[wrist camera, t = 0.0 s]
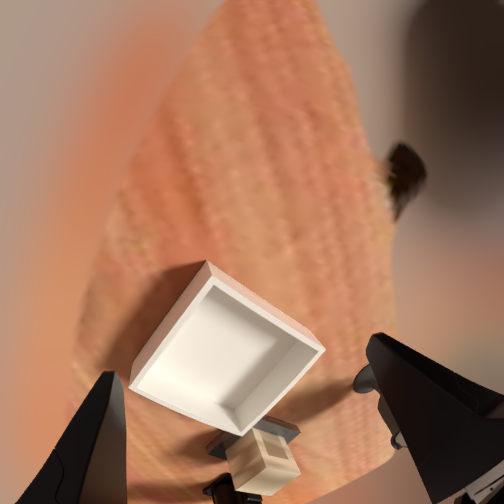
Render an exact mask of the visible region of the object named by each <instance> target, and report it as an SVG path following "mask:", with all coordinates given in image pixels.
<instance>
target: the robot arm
mask: <svg viewBox="0 0 504 504" xmlns="http://www.w3.org/2000/svg"><path fill="white" fill-rule="evenodd" d="M366 356H367V358H368V361H369V364H370V366H371V369H372V371H373V374H374V377H375V379H376V382H377V384H378V387H379V389H380V391H381V393H382V395H383V397H384V399H385V401H386V403H387V405H388V407H389V409H390V411H391V413H392V416H393V418H394V420H395V422H396V424H397V426H398V428H399V430H400V432H401V434H402V436H403V439H404V441H405V443H406V445H407V447H408V449H409V452H410V454H411V456H412V458H413V460H414V463H415V465H416V467H417V469H418V472H419V474H420V476H421V479H422V481H423V483H424V486H425V488H426V490H427V493H428V495H429V497H430V500H431V502H432V504H437V503H439V502H441V501H443V500H445V499H446V498H448V497H450V496H451V495H453V494H455V493H457V492H458V491H460V490H462V489H463V488H464V489H465V490H466V491H465V492H463V493H462V494H461V495H460V496H458V497H457V498H456V499H455V501H454V504H504V395H502V394H500V393H497V392H495V391H493V390H490V389H488V388H486V387H483V386H481V385H479V384H476V383H474V382H472V381H470V380H468V379H466V378H464V377H462V376H461V375H459V374H457V373H454V372H453V371H451V370H450V369H448V368H446V367H444V366H442V365H441V364H439V363H437V362H435V361H433V360H431V359H429V358H428V357H426V356H424V355H422V354H420V353H419V352H417V351H415V350H413V349H412V348H410V347H408V346H406V345H404V344H403V343H401V342H399V341H397V340H395V339H394V338H392V337H390V336H388V335H386V334H385V333H382V332H379V333H376V334H373V335H372V336H371V338H370V340H369V343H368V345H367V348H366ZM203 494H205V495H209V496H212V499H213V503H214V504H262V503H261V502H262V497H261V494H254V493H247V492H241V491H236V490H235V487H234V483H233V480H232V476H231V474H230V473H227V474H225V475H223V476H222V477H221V478H219V479H218V480H217V481H215V482H214V483H213V484H211V485H210V486H209V487H207V488H206V489H204V490H203ZM15 504H127V481H126V420H125V406H124V391H123V386H122V384H121V381H120V379H119V377H118V375H117V373H116V372H115V371H104V372H103V373H102V374H101V375H100V377H99V378H98V380H97V381H96V383H95V384H94V386H93V387H92V389H91V390H90V392H89V393H88V395H87V397H86V398H85V400H84V401H83V403H82V404H81V406H80V407H79V409H78V410H77V412H76V414H75V415H74V417H73V418H72V420H71V421H70V423H69V425H68V426H67V428H66V429H65V431H64V433H63V434H62V436H61V438H60V439H59V441H58V443H57V444H56V446H55V449H53V451H52V452H51V454H50V456H49V458H48V459H47V461H46V462H45V464H44V465H43V467H42V468H41V470H40V471H39V473H38V474H37V475H36V477H35V478H34V480H33V481H32V482H31V483H30V485H29V486H28V487H27V489H26V490H25V491H24V493H23V494H22V495H21V497H20V498H19V499H18V501H17V502H16V503H15Z"/></svg>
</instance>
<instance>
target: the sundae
mask: <svg viewBox="0 0 504 504" xmlns="http://www.w3.org/2000/svg"><path fill="white" fill-rule="evenodd" d="M354 389H355V391H356V392H358V393H368V392H370V391H372V390H374V389H375V390H376V391H377V392H378V393H379V394H380V398H379V402H378V410H379V412H380V414H381V416H382V418H383V420H384V421H385V423H386V425H387V426H388V428H389V429H390V431H391V433H392V435H393V436H392V437H391V445H392V446H393V447H394V448H395V449H397V450H399V449H401V448H402V447H406V448H408V447H407V445H406V443H405V441H404V439H403V436H402V434H401V432H400V430H399V428H398V426H397V424H396V422H395V420H394V418H393V416H392V413H391V411H390V409H389V407H388V405H387V403H386V401H385V399H384V397H383V395H382V393H381V391H380V389H379V387H378V384H377V382H376V379H375V377H374V374H373V371H372V369H371V366H370V364H369V365H368V366H366V367H365V368H364V369H363V370H362V371H361V372H360V373H359V374H358V376H357V378H356V380H355V383H354Z"/></svg>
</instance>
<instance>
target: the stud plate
mask: <svg viewBox="0 0 504 504" xmlns="http://www.w3.org/2000/svg"><path fill="white" fill-rule="evenodd" d="M252 428H255V429H258V430H261V431H264V432H268V433H271V434H274V435H277V436H281V437H284V439H285V441H286V443H287V444H288V443H289V442H291V441H292V440H293V439H294V438H295V437H296V436H297V435H298V434H299V433H301V432H300V430H299V429H298V427H297V426H295V425H292V424H289V423H286V422H284V421H281V420H278V419H275V418H272V417H270V416H267V415H264V416H263V417H262V418H261V419H260V420H259V421H258V422H257V423H256V424H255V425H254V426H253V427H252ZM241 437H242V436H239V435H236V434H233V433H230V432H227V431H223V432H222V433H221V434H220V435H219V436H218V437H216V438H215V439H214V440H213V441H212V442H211V443H210V444H209V445H208V446H207V447H206V449H207V454H208V455H212V456H215V457H218V458H222V459H225V460H227V456H226V452H225V451H226V450H227V449H228V448H229V447H231V446H232V445H233V444H234V443H235V442H236V441H237V440H238V439H239V438H241Z"/></svg>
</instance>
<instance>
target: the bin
mask: <svg viewBox="0 0 504 504" xmlns="http://www.w3.org/2000/svg"><path fill="white" fill-rule="evenodd" d="M325 350H326V349H325V348H324V347H323V345H322V344H321V343H320V342H319V341H318V340H317V339H316V337H315V336H314V335H313V334H312V333H311V332H310V331H309V329H307V328H306V327H304V326H303V325H301V324H300V323H298V322H297V321H295V320H294V319H292V318H291V317H289V316H288V315H286V314H285V313H283V312H282V311H280V310H279V309H277V308H276V307H274V306H273V305H271V304H270V303H268V302H267V301H265V300H264V299H263V298H261V297H260V296H258V295H257V294H255V293H254V292H252V291H251V290H249V289H248V288H246V287H245V286H243V285H242V284H241V283H239V282H238V281H236V280H235V279H233V278H232V277H230V276H229V275H228V274H226V273H225V272H223V271H222V270H220V269H219V268H218V267H216V266H215V265H213V264H212V263H210V262H209V261H208V260H206V262H205V263H204V264H203V266H202V267H201V268H200V270H199V271H198V272H197V274H196V275H195V276H194V278H193V279H192V281H191V282H190V283H189V285H188V286H187V287H186V289H185V290H184V291H183V293H182V294H181V295H180V297H179V298H178V300H177V301H176V302H175V304H174V305H173V306H172V308H171V309H170V311H169V312H168V313H167V315H166V316H165V317H164V319H163V320H162V322H161V323H160V324H159V326H158V327H157V329H156V330H155V331H154V333H153V334H152V336H151V337H150V338H149V340H148V341H147V343H146V344H145V345H144V347H143V348H142V350H141V351H140V353H139V354H138V355H137V357H136V358H135V360H134V361H133V365H132V370H131V375H130V381H129V387H128V388H129V389H131V390H133V391H134V392H136V393H138V394H140V395H142V396H144V397H146V398H148V399H150V400H152V401H155V402H157V403H159V404H161V405H163V406H165V407H167V408H170V409H172V410H174V411H176V412H179V413H181V414H183V415H186V416H188V417H190V418H193V419H195V420H198V421H200V422H203V423H205V424H208V425H211V426H213V427H216V428H219V429H222V430H224V431H227V432H230V433H233V434H236V435H239V436H243V435H244V434H245V433H246V432H247V431H249V430H250V429H251V428H252V427H253V426H254V425H255V424H256V423H257V422H258V421H259V420H260V419H261V418H262V417H263V416H264V415H265V414H266V413H267V412H268V411H269V410H270V409H271V408H272V407H273V406H274V405H275V404H276V403H277V402H278V401H279V400H280V399H281V398H282V397H283V396H284V395H285V394H286V393H287V392H288V391H289V390H290V389H291V388H292V387H293V386H294V385H295V384H296V382H297V381H298V380H299V379H300V378H301V377H302V376H303V375H304V374H305V373H306V372H307V370H308V369H309V368H310V367H311V366H312V365H313V364H314V363H315V361H316V360H317V359H318V358H319V357H320V356H321V355H322V353H323V352H324V351H325Z"/></svg>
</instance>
